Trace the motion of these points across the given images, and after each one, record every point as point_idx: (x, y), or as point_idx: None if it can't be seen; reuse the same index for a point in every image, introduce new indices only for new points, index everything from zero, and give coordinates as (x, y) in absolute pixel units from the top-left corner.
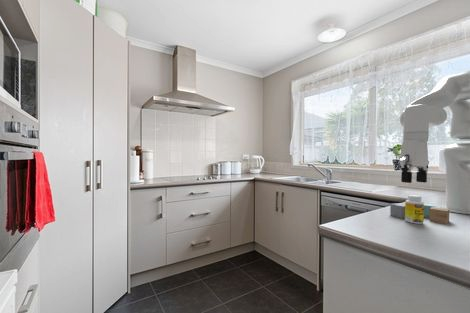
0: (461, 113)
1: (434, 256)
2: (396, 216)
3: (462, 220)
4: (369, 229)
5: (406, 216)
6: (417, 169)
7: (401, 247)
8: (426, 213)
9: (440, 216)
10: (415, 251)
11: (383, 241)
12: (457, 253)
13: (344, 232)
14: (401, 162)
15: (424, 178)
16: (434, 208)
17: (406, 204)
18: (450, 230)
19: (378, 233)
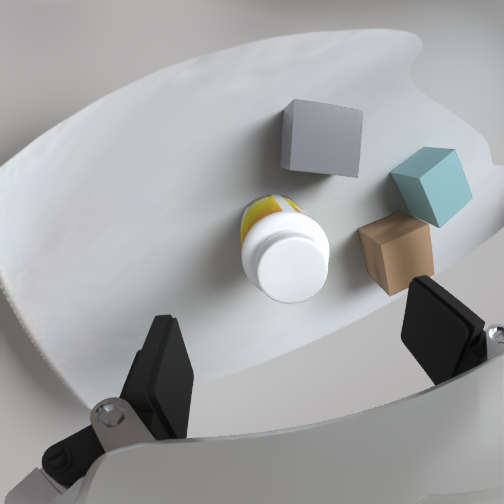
0: None
1: (80, 385)
2: (281, 141)
3: (454, 257)
4: (43, 250)
5: (242, 219)
6: (486, 352)
7: (50, 349)
8: (408, 194)
9: (374, 267)
10: (63, 366)
11: (34, 319)
12: None
13: None
14: (29, 498)
15: (416, 353)
16: (398, 251)
17: (244, 233)
18: (291, 322)
19: (47, 282)
